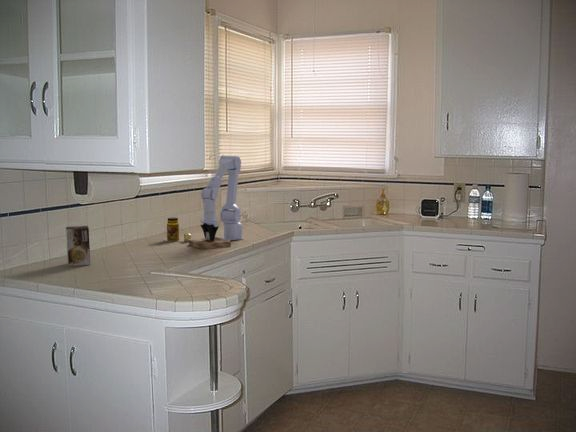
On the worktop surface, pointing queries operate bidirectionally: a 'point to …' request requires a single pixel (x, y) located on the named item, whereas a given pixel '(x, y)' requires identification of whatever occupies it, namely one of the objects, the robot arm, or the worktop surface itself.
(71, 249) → the coffee box
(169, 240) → the condiment
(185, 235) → the short stub
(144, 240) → the worktop surface
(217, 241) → the hole block
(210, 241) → the grey cylinder
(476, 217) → the worktop surface
